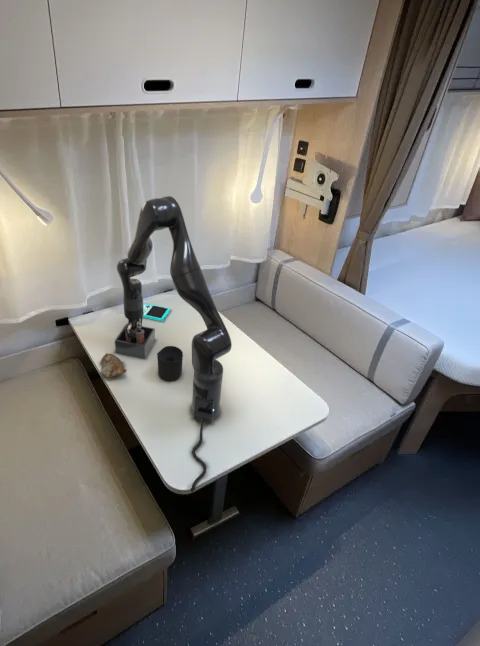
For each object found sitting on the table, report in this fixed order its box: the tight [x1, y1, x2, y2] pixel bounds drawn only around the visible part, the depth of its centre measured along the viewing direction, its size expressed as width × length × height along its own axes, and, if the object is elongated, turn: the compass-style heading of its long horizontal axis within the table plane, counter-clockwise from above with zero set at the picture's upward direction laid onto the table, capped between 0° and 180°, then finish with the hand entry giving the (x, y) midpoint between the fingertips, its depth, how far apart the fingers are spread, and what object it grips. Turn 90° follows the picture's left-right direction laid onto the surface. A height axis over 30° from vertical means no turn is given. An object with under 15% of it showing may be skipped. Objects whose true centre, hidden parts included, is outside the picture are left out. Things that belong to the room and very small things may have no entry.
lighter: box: [125, 323, 144, 345], centre depth 162 cm, size 8×3×10 cm, turn 77°
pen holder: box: [156, 345, 184, 383], centre depth 148 cm, size 9×9×10 cm
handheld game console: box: [143, 302, 171, 322], centre depth 186 cm, size 10×16×1 cm, turn 70°
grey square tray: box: [114, 323, 156, 360], centre depth 163 cm, size 12×13×6 cm
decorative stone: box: [100, 352, 127, 378], centre depth 152 cm, size 10×4×15 cm
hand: (135, 340), depth 163 cm, fingers closed on lighter, 3 cm apart
